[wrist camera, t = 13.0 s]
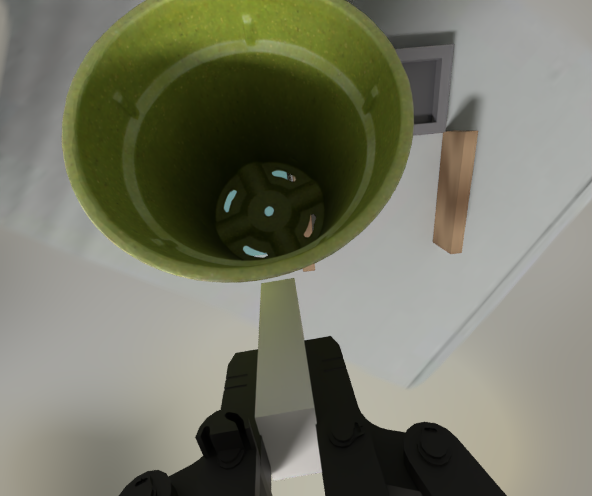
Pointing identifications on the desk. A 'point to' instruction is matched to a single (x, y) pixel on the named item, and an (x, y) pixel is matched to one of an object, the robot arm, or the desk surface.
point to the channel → (448, 191)
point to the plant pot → (237, 133)
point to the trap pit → (428, 85)
